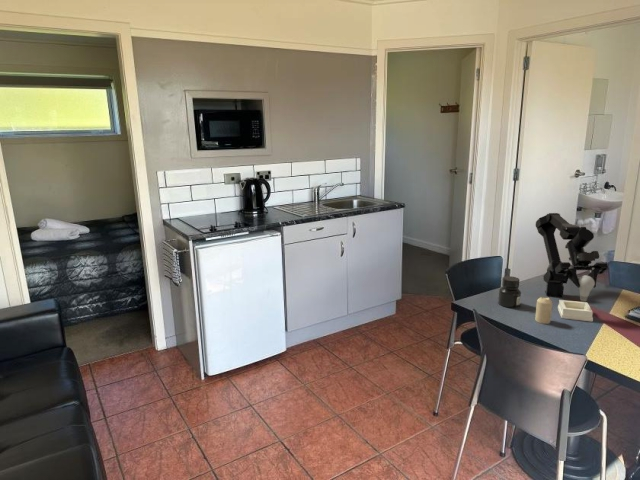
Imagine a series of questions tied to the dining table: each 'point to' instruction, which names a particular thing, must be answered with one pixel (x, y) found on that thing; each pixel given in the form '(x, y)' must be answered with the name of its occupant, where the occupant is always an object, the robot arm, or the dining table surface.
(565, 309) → the socket
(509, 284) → the ink bottle
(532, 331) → the dining table surface
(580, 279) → the lightbulb
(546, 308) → the candle
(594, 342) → the dining table surface
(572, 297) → the dining table surface
